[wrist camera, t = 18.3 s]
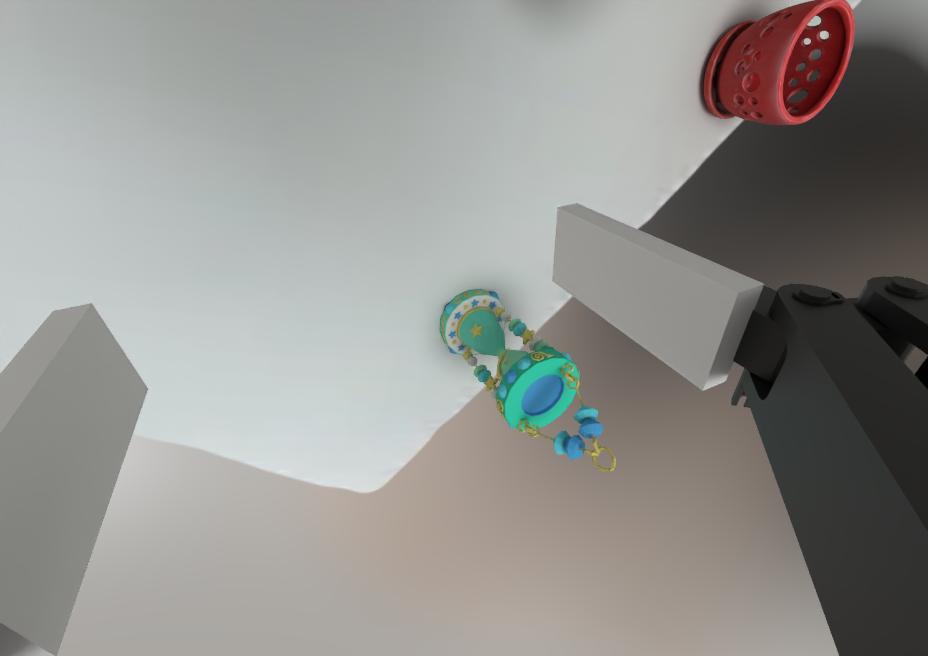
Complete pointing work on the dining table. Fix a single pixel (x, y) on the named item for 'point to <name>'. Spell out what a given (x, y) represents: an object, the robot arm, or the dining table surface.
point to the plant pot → (780, 64)
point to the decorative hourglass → (520, 371)
